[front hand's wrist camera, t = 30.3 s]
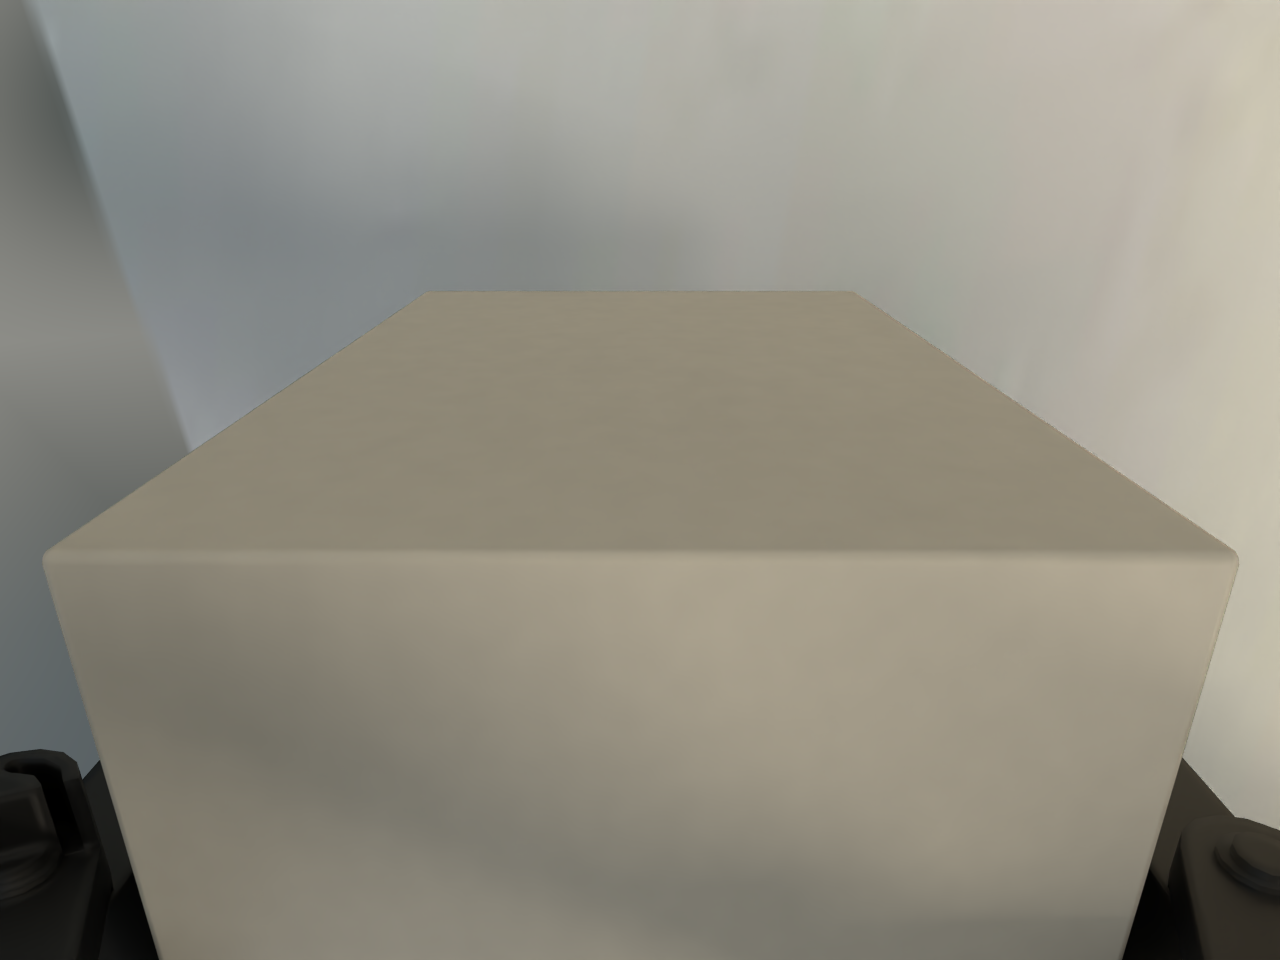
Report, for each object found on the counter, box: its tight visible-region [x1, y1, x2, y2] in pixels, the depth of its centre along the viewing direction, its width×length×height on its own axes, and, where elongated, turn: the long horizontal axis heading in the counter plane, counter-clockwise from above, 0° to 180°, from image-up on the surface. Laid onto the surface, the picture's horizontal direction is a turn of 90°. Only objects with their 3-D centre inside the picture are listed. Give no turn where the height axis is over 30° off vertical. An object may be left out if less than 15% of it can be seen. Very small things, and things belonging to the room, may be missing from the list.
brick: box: [42, 291, 1239, 960], centre depth 12 cm, size 9×8×11 cm
